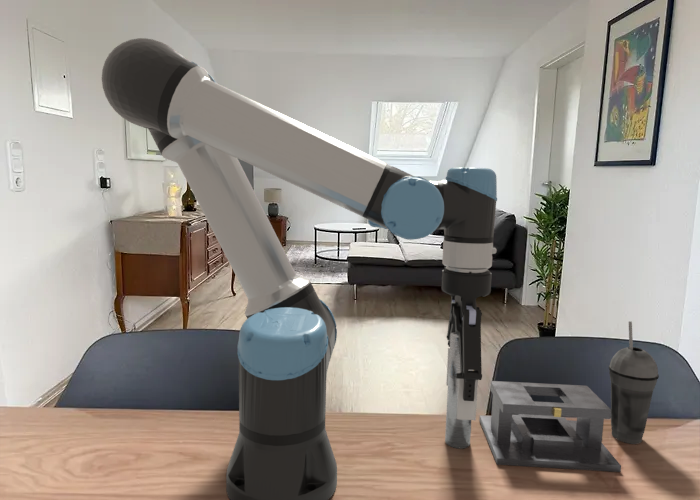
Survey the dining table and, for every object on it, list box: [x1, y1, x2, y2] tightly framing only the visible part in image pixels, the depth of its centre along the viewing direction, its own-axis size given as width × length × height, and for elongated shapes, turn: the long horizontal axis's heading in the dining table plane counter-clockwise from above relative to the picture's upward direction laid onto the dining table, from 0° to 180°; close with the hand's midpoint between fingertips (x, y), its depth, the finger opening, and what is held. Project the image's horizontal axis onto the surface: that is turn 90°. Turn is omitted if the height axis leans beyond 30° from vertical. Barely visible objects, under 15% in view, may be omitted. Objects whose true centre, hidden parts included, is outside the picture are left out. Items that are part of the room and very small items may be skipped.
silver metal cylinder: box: [444, 332, 474, 450], centre depth 79 cm, size 4×4×18 cm
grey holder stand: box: [478, 380, 622, 473], centre depth 80 cm, size 18×14×8 cm
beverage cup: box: [608, 321, 660, 445], centre depth 82 cm, size 7×7×20 cm
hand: (459, 400), depth 79 cm, fingers open, 12 cm apart
